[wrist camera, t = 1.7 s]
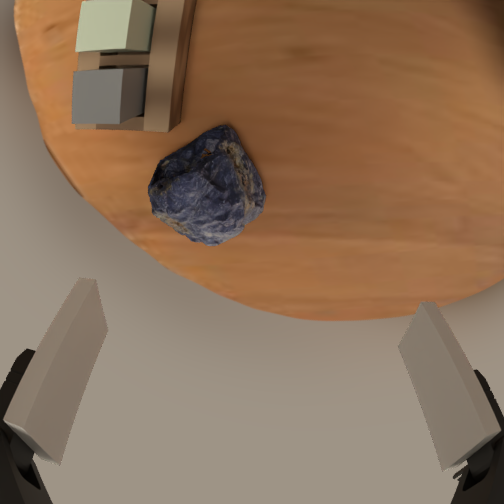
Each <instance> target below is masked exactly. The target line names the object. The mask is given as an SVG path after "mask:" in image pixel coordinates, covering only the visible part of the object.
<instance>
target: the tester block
mask: <svg viewBox="0 0 504 504" xmlns="http://www.w3.org/2000/svg"><path fill="white" fill-rule="evenodd" d="M86 1H90V0H86ZM142 1H144V2H145V3H147V4H149V5H151V6H152V7H154V8H156V9H157V10H156V16H155V23H154V29H153V36H152V44H151V51H150V52H114V53H100V52H79V57H78V70H77V71H84V70H96V69H112V68H149V69H148V78H147V89H146V101H145V112H144V113H142V114H140V115H137V116H135V117H133V118H131V119H129V120H127V121H125V122H123V123H121V124H75V129H109V130H137V131H155V132H169V131H170V130H172V129H173V128H174V127H175V126H177V125H178V124H179V123H180V118H181V108H182V99H183V90H184V81H185V73H186V65H187V57H188V50H189V43H190V36H191V30H192V24H193V17H194V11H195V6H196V0H142Z"/></svg>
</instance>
